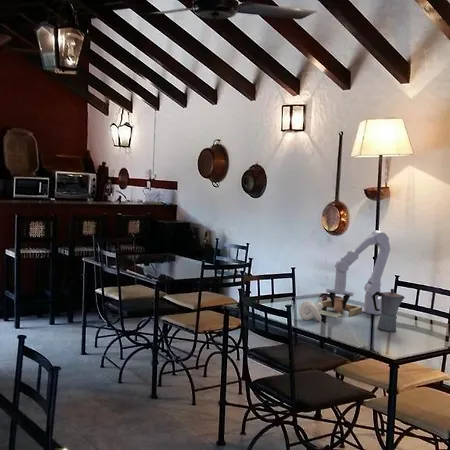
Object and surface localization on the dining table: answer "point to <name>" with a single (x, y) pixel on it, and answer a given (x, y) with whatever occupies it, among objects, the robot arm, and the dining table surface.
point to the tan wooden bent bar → (352, 309)
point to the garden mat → (330, 314)
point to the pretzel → (310, 310)
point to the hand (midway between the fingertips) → (338, 307)
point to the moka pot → (388, 309)
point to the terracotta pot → (338, 304)
